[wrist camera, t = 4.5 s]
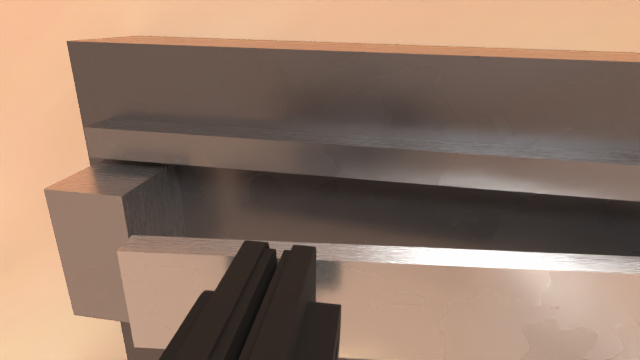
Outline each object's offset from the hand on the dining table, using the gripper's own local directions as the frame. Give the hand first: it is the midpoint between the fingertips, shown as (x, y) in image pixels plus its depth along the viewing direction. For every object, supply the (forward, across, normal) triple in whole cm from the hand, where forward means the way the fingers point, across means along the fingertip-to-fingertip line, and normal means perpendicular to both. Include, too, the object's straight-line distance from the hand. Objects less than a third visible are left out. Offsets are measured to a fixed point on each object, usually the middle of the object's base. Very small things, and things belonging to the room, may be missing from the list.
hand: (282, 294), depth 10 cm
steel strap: (+2, -6, +1) cm, 6 cm away
